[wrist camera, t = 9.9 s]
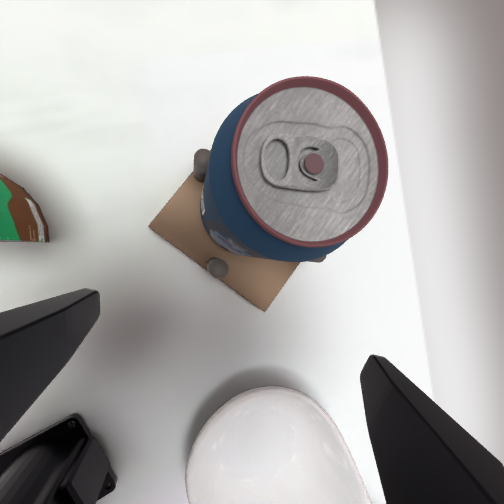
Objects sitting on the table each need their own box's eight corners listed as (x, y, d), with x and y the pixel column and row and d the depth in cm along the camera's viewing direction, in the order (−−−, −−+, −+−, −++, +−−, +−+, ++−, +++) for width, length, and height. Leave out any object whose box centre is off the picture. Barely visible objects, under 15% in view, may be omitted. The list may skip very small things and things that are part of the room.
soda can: (288, 171, 21) (408, 78, 10) (284, 257, 21) (399, 268, 10) (201, 161, 20) (218, 33, 8) (197, 253, 20) (207, 261, 8)
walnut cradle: (259, 307, 22) (279, 324, 18) (151, 228, 20) (138, 221, 15) (331, 208, 24) (367, 198, 19) (235, 123, 22) (249, 88, 17)
